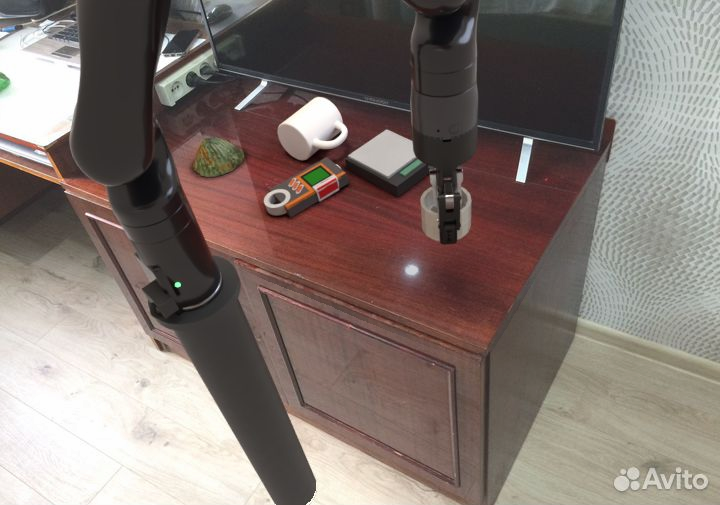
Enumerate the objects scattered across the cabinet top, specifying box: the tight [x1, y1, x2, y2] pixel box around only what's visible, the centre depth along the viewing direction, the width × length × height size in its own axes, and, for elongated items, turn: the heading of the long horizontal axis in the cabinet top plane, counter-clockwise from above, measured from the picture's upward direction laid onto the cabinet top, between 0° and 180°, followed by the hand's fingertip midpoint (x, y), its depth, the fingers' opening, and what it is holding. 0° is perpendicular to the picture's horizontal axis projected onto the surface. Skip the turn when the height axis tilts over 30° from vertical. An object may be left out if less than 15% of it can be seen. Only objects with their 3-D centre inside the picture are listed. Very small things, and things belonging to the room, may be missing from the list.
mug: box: [277, 96, 349, 161], centre depth 111 cm, size 12×10×8 cm
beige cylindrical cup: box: [420, 186, 472, 242], centre depth 78 cm, size 6×6×5 cm
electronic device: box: [263, 156, 350, 218], centre depth 104 cm, size 7×3×15 cm
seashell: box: [192, 136, 245, 178], centre depth 114 cm, size 10×4×10 cm
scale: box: [344, 129, 430, 198], centre depth 106 cm, size 11×13×3 cm
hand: (446, 223), depth 79 cm, fingers closed on beige cylindrical cup, 6 cm apart
